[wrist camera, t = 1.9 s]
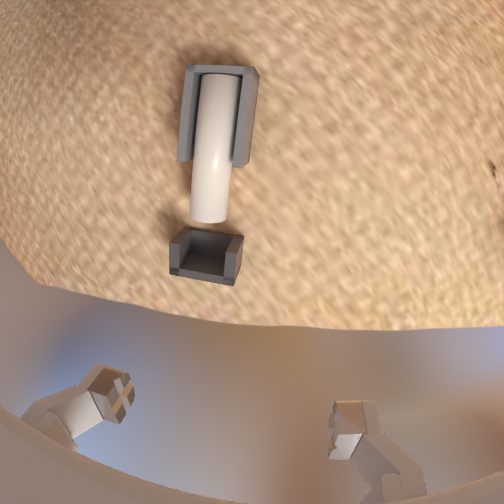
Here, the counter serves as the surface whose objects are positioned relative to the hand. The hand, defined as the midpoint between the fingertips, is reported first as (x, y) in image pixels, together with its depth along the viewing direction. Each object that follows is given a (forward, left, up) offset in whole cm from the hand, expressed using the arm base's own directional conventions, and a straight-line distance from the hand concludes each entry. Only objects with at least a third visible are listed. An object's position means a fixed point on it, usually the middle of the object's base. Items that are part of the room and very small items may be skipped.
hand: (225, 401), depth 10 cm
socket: (+6, -7, -26) cm, 28 cm away
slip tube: (-6, -7, -25) cm, 27 cm away
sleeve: (-10, -7, -26) cm, 29 cm away
